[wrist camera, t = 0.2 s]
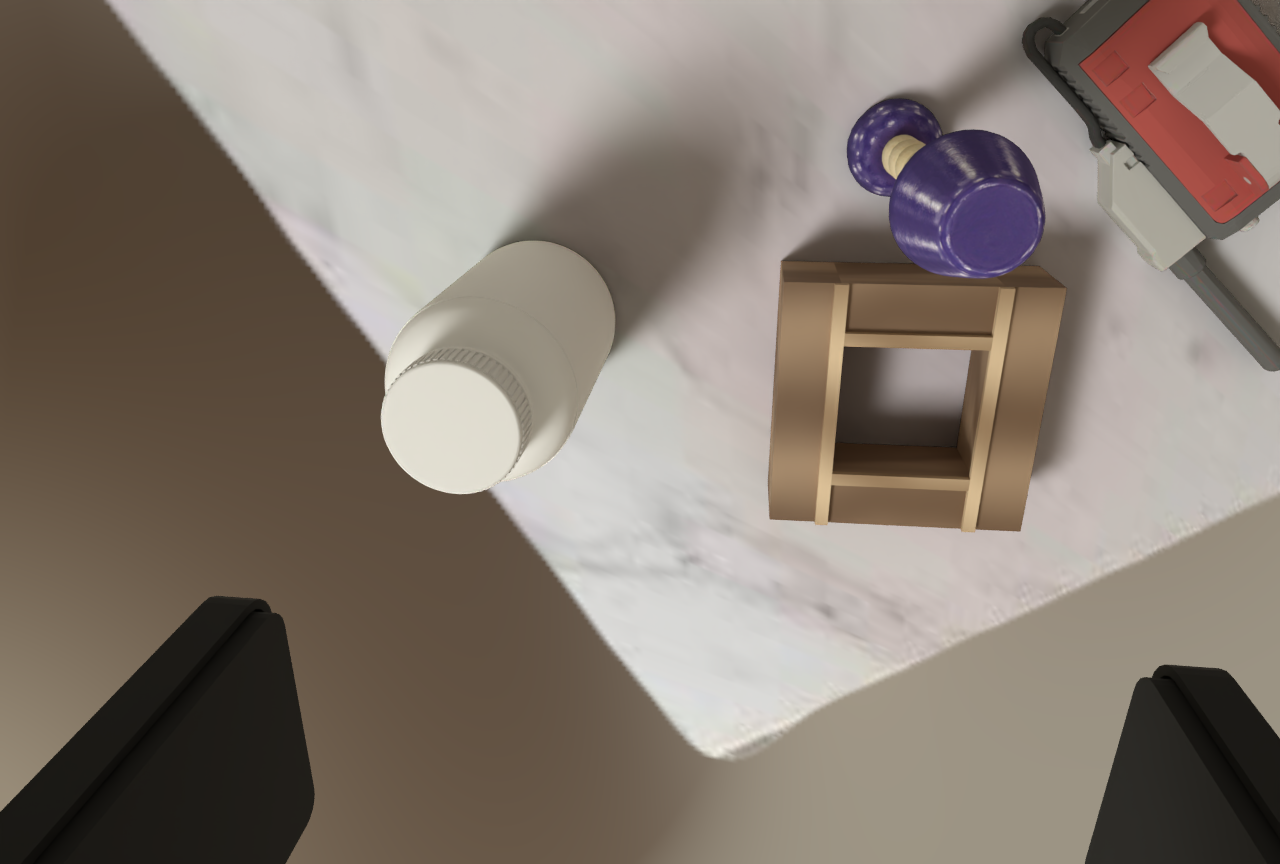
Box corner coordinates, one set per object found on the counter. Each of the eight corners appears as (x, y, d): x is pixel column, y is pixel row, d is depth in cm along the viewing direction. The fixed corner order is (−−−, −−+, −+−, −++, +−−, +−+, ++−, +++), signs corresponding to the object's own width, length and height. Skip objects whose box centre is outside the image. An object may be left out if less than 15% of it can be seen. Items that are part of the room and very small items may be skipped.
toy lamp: (967, 110, 40) (1102, 159, 25) (934, 215, 42) (1041, 320, 27) (860, 90, 40) (929, 126, 25) (833, 195, 42) (881, 288, 27)
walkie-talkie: (972, 72, 40) (1244, 373, 44) (997, 77, 36) (1293, 408, 40) (1147, -100, 36) (1424, 242, 40) (1196, -115, 32) (1498, 266, 36)
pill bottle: (492, 209, 44) (378, 289, 30) (642, 277, 44) (596, 386, 31) (443, 349, 47) (319, 478, 34) (583, 410, 48) (518, 562, 34)
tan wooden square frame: (780, 261, 43) (784, 283, 39) (1039, 266, 42) (1069, 290, 38) (767, 482, 48) (769, 522, 44) (999, 492, 47) (1021, 534, 43)
